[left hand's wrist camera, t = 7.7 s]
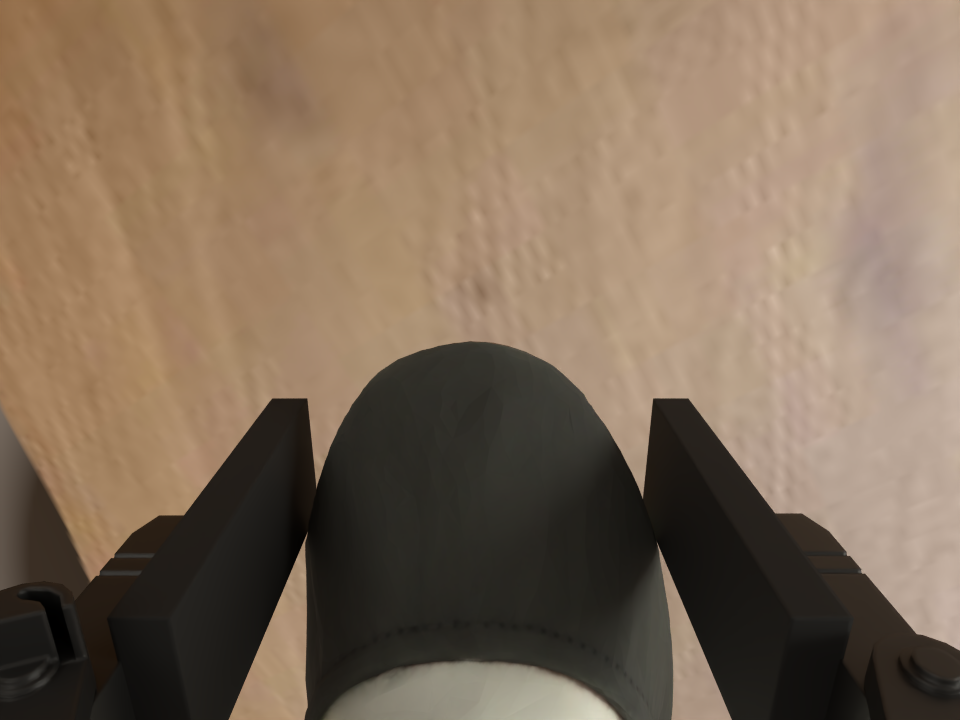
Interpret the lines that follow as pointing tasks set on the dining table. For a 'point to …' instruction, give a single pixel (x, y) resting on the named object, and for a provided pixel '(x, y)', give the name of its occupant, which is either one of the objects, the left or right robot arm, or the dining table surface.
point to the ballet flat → (482, 553)
